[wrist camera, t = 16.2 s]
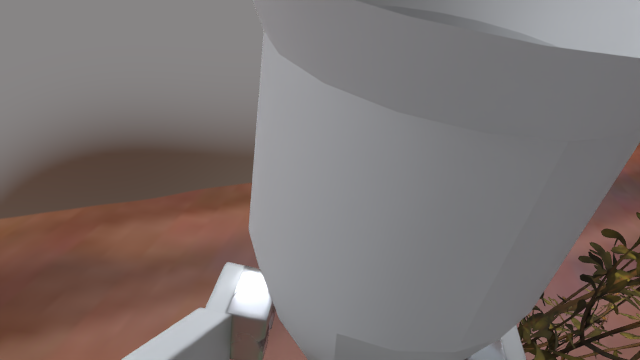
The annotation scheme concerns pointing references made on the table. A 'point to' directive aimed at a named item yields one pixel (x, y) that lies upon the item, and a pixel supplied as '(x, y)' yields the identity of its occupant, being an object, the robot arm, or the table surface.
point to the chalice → (432, 163)
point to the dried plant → (587, 307)
